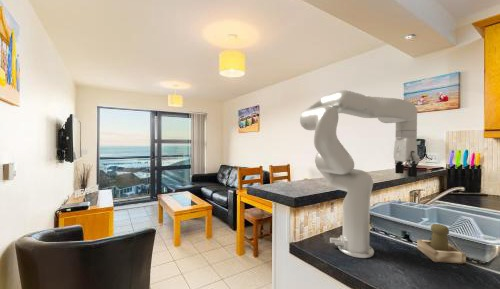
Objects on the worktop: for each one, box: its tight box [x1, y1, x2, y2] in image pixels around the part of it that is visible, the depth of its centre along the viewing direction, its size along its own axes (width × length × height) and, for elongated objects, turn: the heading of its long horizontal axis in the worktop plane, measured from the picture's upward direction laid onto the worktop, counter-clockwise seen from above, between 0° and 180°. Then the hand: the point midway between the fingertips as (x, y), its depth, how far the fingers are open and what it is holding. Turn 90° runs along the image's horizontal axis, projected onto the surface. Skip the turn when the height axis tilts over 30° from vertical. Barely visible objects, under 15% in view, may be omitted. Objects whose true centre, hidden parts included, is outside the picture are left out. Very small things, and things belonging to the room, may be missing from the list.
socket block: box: [416, 239, 467, 264], centre depth 84 cm, size 10×10×4 cm
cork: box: [430, 223, 450, 251], centre depth 84 cm, size 6×6×11 cm
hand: (405, 175), depth 96 cm, fingers open, 9 cm apart
